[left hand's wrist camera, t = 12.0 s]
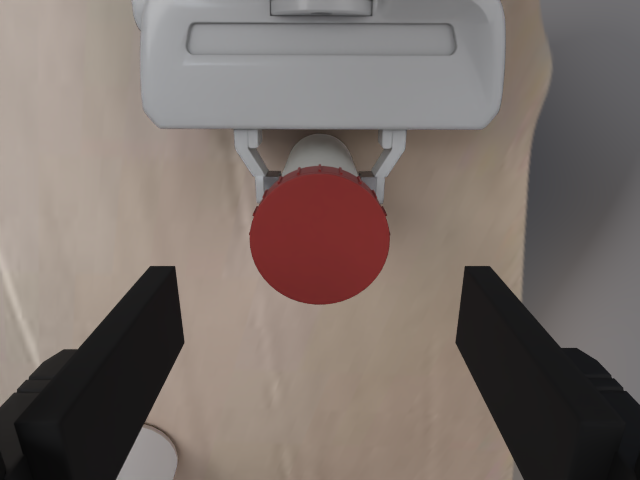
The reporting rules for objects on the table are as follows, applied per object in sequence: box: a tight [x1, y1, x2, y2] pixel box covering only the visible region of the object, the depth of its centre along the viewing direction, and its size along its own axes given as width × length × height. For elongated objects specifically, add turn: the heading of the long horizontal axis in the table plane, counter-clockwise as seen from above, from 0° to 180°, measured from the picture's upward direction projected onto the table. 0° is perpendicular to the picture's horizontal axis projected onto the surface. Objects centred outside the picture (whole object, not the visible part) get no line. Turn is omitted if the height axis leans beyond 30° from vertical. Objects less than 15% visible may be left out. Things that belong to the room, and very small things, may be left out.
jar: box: [282, 134, 358, 177], centre depth 27 cm, size 5×5×16 cm
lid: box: [249, 164, 390, 304], centre depth 20 cm, size 6×6×2 cm
